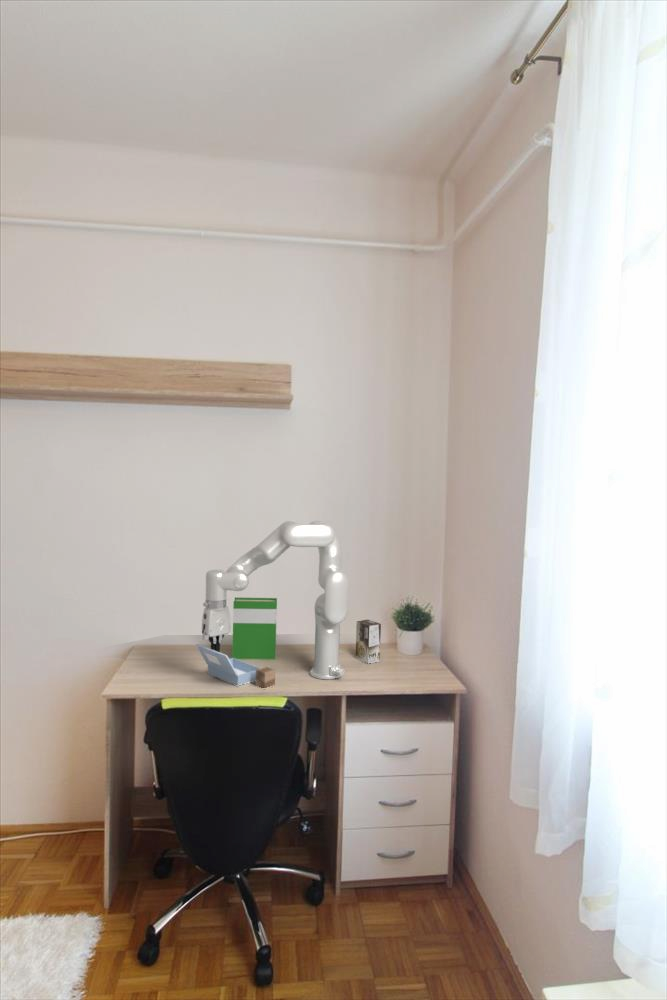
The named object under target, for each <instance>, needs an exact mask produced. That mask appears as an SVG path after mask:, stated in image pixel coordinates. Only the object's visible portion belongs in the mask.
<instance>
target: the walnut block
mask: <svg viewBox="0 0 667 1000" xmlns="http://www.w3.org/2000/svg"><path fill="white" fill-rule="evenodd" d="M260 668H261V669H257V670H256V681H255V687H257V686H259V687H258V688H260V687H261V688H260V689H262V688H267V687H270V686H273V685H275V686H276V669H273V668H270V667H267V666H265V667H260Z"/></svg>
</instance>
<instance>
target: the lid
mask: <svg viewBox="0 0 667 1000" xmlns="http://www.w3.org/2000/svg"><path fill="white" fill-rule="evenodd" d="M195 646H196V647H197V649H198V651H199V652H200V655H201V657H202V658H203V659H204V662H205V663H206V665H207V666H208V665H210V666H213V667H215V668H218V669H220V670H223V671H225V672H228V673H231V674H233V675H236V676H238V674H237V673H236V671H235V669H234V667H233V665H232V664H231V662H230V660H229V659H230V657H228V655H227V654H225V653H222V652H217V651H214V650H212V649H211V648H209V647H206V646H203V645H200V644H198V643H196V644H195Z"/></svg>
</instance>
